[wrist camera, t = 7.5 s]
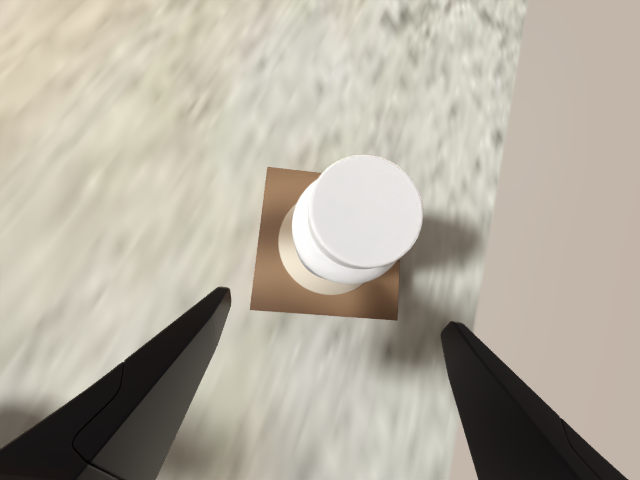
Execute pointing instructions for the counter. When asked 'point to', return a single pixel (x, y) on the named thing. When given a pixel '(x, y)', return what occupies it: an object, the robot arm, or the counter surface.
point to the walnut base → (290, 274)
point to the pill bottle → (357, 219)
